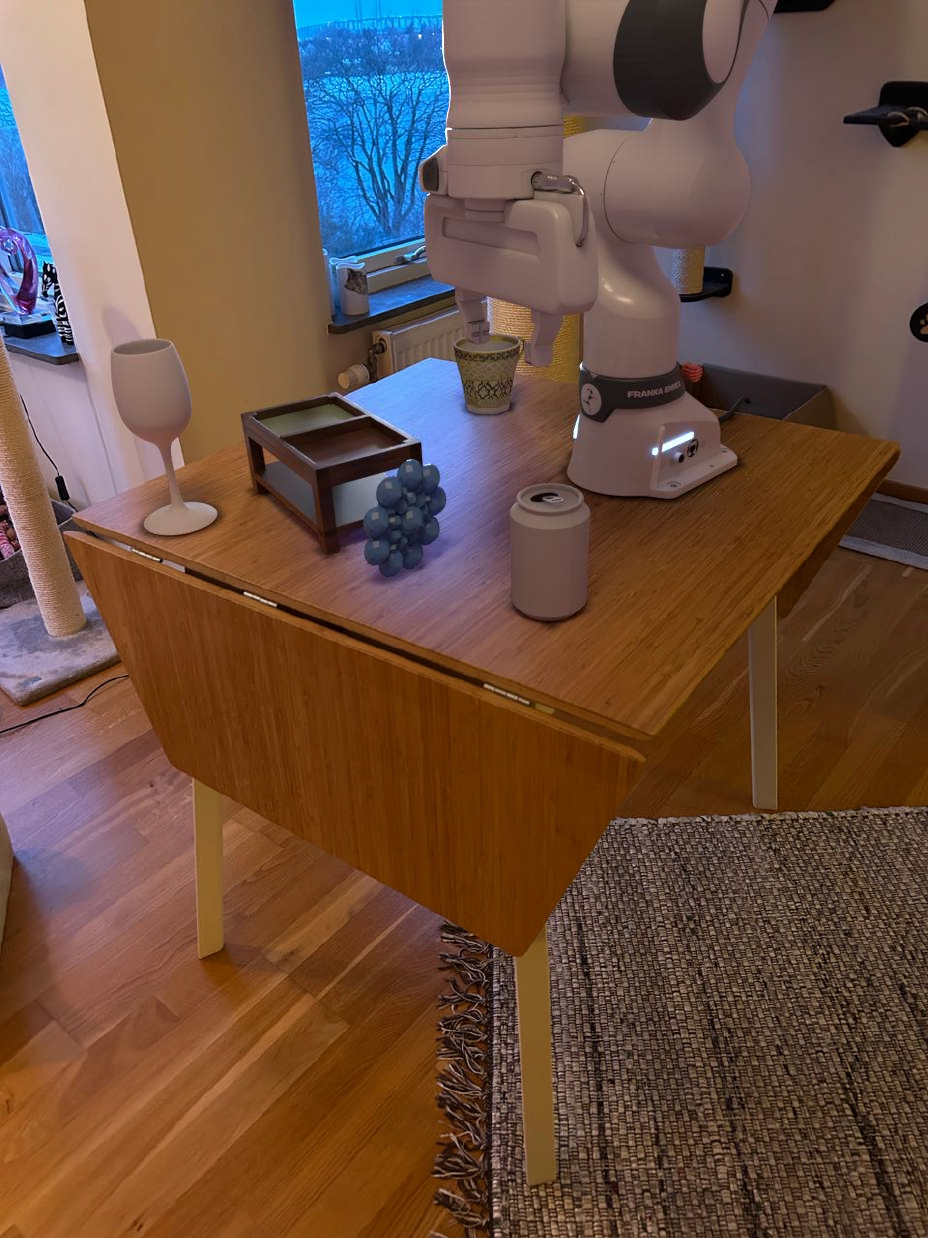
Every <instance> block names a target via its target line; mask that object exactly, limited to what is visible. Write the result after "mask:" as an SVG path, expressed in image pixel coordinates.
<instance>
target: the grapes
mask: <svg viewBox="0 0 928 1238" xmlns="http://www.w3.org/2000/svg"><path fill="white" fill-rule="evenodd" d="M440 474H441V473H440V470H439V469H438V466H437V465H435V464H433V463H426V464H423V467H422V466H421V464H420V463H419V462H418V461H416V460H414V459H412V460H407V461H406V462H404V463H403V464H402V465H401V466H400V468H398V469H397V472H396V476H395V475H390V476H389V475H388V476H389V477H386V478H385V479H383V480H382V481H381V482H380V484H379V485H378V486H377V491H376V498H377V501H378V503H379V504H378V505H377V506H376V507H373V508H372V509H370V510H369V511H368V512H367V513H366V515H365V516H364V521H363V531H364V533H365V535H366V537H368V540H367V542H366V543H365V545H364V549H363V554H364V559H365V561H366V563H367V564H368V565H370V566H373V567H375V566H377V567H378V572H379V573H380V575H381V576H382V577H384V578H387V579H388V578H393V577H395V576H396V575H398V574H399V573H400V572H401V570H402V569H405V570H413V569H415V568H416V567H417V566H419V564H420V563H421V562H422V560H423V557H424V546H428V545H431V544H433V543H434V542H435V541H436V540H437V538H439V535H440V532H441V531H440V530H441V527H440V522H439V520H438V519H437V517H436V516H437V515H439V514H440V513H441V512H443V510H444V509H445V507H446V505H447V494H446V492H445V490H444V488H443V487H441V486H439V485H440V481H441V475H440Z"/></svg>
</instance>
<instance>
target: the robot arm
mask: <svg viewBox="0 0 928 1238" xmlns="http://www.w3.org/2000/svg"><path fill="white" fill-rule="evenodd" d="M778 1H779V0H442V1H441V2H442V3H441V4H442V5H441V8H442V9H441V24H442V25H441V26H442V27H441V28H442V31H441V32H442V56H443V57H442V58H443V64H444V68H445V71H446V75H447V79H448V84H449V104H448V110H447V113H446V119H445V139H446V140H445V141H446V142H445V143H446V144H443V145H441V146H440V147H439V148H438V149H437V150H436V151H435V152H434V153H432V155H430V156H429V157H426V159H424V160H423V161H422V162H420V164H419V165H418V172H417V173H418V185H419V189H420V190H421V192H424V193H428V194H426V196H425V199H424V202H423V228H424V229H423V231H424V243H425V245H424V247H425V253H426V254H425V255H426V263H427V267H428V270H429V272H430V274H431V277H432V279H433V281H434V282H436V283H439V284H443V285H446V286H450V287H453V288H454V297H455V303H456V306H457V309H458V312H459V314H460V316H461V320H462V322H463V337H464V338H465V340H466V341H467V342H469V343H473V344H476V345H479V344H484V343H487V342H488V341H489V340H490V333H491V332H490V331H491V322H490V321H489V320H486V317H485V313H484V308H483V304H482V299H484V298H485V297H487V298H491V299H496V300H499V301H502V302H505V303H509V304H512V305H516V306H519V307H523V308H527V309H530V322H531V324H534V326H533V327H534V328H533V331H532V334H531V338H530V341H526V342H524V352H525V353H524V355H523V360H524V363H526V364H527V365H530V366H532V367H535V368H538V369H540V368H544V367H549V366H550V365H551V364H552V363H553V359H554V343H555V341H556V339H557V337H558V335H559V333H560V330H561V328H562V326H563V324H564V317H566V316H572V315H578V314H583V359H582V360H583V361H581V363H580V365H579V373H578V375H579V376H578V398H579V407H580V408H579V414H578V417H577V420H576V422H575V426H574V429H573V439H575V440H574V444H573V449H572V452H571V457H570V460H569V463H568V466H567V469H566V475H567V477H568V479H569V480H570V481H571V482H572V483H574V485H577V486H578V487H580V488H581V489H585V490H587V491H591V492H593V493H598V494H603V495H609V496H618V497H651V498H658V499H665V500H667V499H668V500H669V499H670V500H671V499H675V498H678V497H680V496H682V495H684V494H685V493H687V492H689V491H691V490H693V489H694V488H696V487H698V486H701V485H702V484H704V483H706V482H708V481H709V480H711V479H713V478H715V477H717V476H719V475H720V474H722V473H724V472H726V471H728V470H730V469H732V468H733V467H736V466H737V465H738V456H737V454H736V453H735V452H734V451H733V450H732V449H730V448H729V447H727V445H726V446H725V445H724V444H722V443H721V423H723V422H726V420H728V419H729V418H731V417H732V416H733V415H734V414H735V413H736V412H737V411H738V410H739V409H740V408H741V406H742V405H743V404H744V403H745V404H746V405H750V404H753V403H752V399H751V398H750V397H749V396H748V395H743V396H741V397H740V398H738V400H737V401H736V402H735V404H734V405H733V406H732V407H731V408H730V409H729V410H728V411H726V412H725V413H724V414H722V415H719V416H717V415H716V413H714V412H713V411H712V410H710V409H709V408H708V407H707V406H705V405H704V404H703V403H701V401H699V400H697V398H695V397H693V395H691V394H690V393H689V392H688V391H686V385H685V382H684V380H689V381H690V382H691V383H696V382H699V381H700V380H701V377H703V375H702V374H703V367H702V366H701V365H699V364H693V363H692V362H689V361H688V362H685V363H684V364H680V362H679V361H678V351H679V350H678V349H679V339H680V328H681V327H680V326H681V312H682V301H681V297H680V294H679V292H678V290H677V288H676V286H674V284H673V283H672V282H671V281H670V279H668V277H667V276H666V274H665V273H663V271H662V269H661V266H660V264H659V262H658V260H657V256H656V254H655V249H654V247H657V248H664V249H669V250H670V249H671V250H686V249H687V250H688V249H697V248H698V249H699V248H705V247H713V246H716V245H719V244H721V243H722V242H724V241H725V240H727V239H728V238H729V237H730V235H732V233H733V232H734V231H735V230H736V229H737V227H738V226H739V225H740V224H741V221H742V219H743V218H744V215H745V213H746V211H747V208H748V204H749V200H750V195H751V175H750V169H749V166H748V163H747V160H746V158H745V156H744V154H743V152H742V151H741V149H740V147H739V145H738V143H737V140H736V135H735V134H736V133H735V117H736V109H737V104H738V100H739V97H740V94H741V89H742V88H743V85H744V82H745V79H746V77H747V75H748V73H749V70H750V68H751V65H752V62H753V60H754V57H755V55H756V53H757V51H758V48H759V46H760V43H761V42H762V39H763V37H764V34H765V32H766V30H767V27H768V25H769V23H770V21H771V18H772V16H773V13H774V11H775V10H776V9H775V8H776V6H777V3H778ZM567 116H568V117H569V116H572V117H574V116H576V117H577V116H578V117H579V116H582V117H640V118H646V119H650V120H649V122H648V124H647V125H646V127H645V128H644V129H643V130H628V129H627V130H626V129H612V128H611V129H609V128H598V129H595V130H594V129H593V130H590V131H585V132H581V133H577V134H574V135H571V136H568V137H566V138H564V137H565V134H564V133H565V130H564V129H565V117H567Z"/></svg>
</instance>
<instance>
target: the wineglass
mask: <svg viewBox="0 0 928 1238" xmlns="http://www.w3.org/2000/svg"><path fill="white" fill-rule="evenodd" d="M110 378H111V386H112V392H113V398H114V401H115V405H116V408H117V411H118V414H119V416H120V419H121V421H122V423H123V424H124V425H125V427H126V428H127V429H128V430H129V431H130V432H131V433H132V434H134V435H135V436H136V437H138V438H139V439H141V440H143V441H145V442H147V443H150V444H153V445H154V446H156V447H157V449H158V450H159V453H160V455H161V459H162V461H163V465H164V469H165V473H166V478H167V483H168V489H169V495H170V504H167V505H165V506H162V507H160V508H157V509H156V510H154V511H152V512H151V513H150V514H149V515H148V516H147V517H145V519H144V521H143V526H144V529H145V530H146V531H147V532H149V533H151V534H155V535H159V536H179V535H187V534H190V533H194V532H197V531H200V530H202V529H205V528H206V527H208V526H210V525H211V524H212V523H214V522H215V521H216V519H217V518H218V511H217V509H215V508H214V507H213V506H212V505H210V504H207V503H204V502H198V501H184V500H183V497H182V494H181V491H180V488H179V484H178V481H177V477H176V472H175V468H174V463H173V457H172V444H173V442H174V441H175V440H176V439H178V438H179V437H180V436H181V435H182V434H183V433H184V431H185V430H186V428H187V427H188V425H189V423H190V421H191V418H192V413H193V401H192V400H193V399H192V393H191V387H190V384H189V380H188V377H187V374H186V369H185V367H184V365H183V363H182V360H181V357H180V355H179V353H178V351H177V348H176V346H175V345H174V343H173V342H172V340H169V339H165V338H156V337H155V338H154V337H153V338H152V337H151V338H139V339H132V340H129V341H125V342H122V343H119V344H117V345H115V346H113V347H112V348H111V350H110Z"/></svg>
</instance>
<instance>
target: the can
mask: <svg viewBox="0 0 928 1238" xmlns="http://www.w3.org/2000/svg"><path fill="white" fill-rule="evenodd" d="M584 501H585V497H584V494H583V493H582V492H581V491H580V489H578V488H576V487H573V486H571V485H568V484H564V483H557V482H556V483H555V482H547V483H537V484H532V485H529V486H527V487H525V488H523V489H522V490H520V491H519V492H518V493H517V495H516V502H514V504H513V505H512V506H511V508H510V509H509V536H510V537H509V538H510V539H509V541H510V597H511V603H512V604H513V605H514V606H515V608H516V609H517V610H519V611H521V612H522V613H523V614H524V615H525V616H527V617H529V618H531V619H536V620H537V621H544V622H545V621H546V622H553V621H560V620H565V619H567V618H569V617H571V616H573V615H574V614H576V612H579V611H580V610H581V609H582V608H583V607H584V606H585V605H586V603H587V600H588V584H589V583H588V580H589V578H588V577H589V552H590V529H591V511H590V508H589V505H587V504H586V503H585V502H584Z"/></svg>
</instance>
